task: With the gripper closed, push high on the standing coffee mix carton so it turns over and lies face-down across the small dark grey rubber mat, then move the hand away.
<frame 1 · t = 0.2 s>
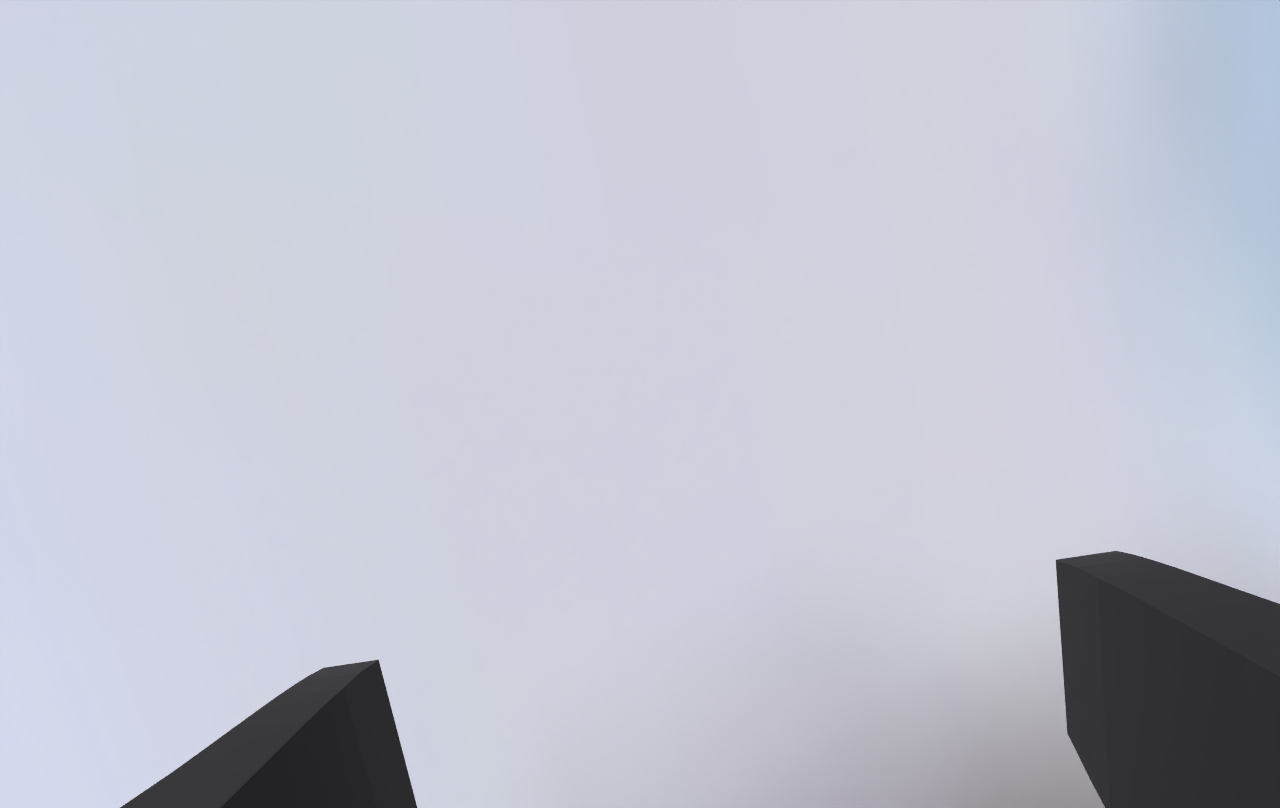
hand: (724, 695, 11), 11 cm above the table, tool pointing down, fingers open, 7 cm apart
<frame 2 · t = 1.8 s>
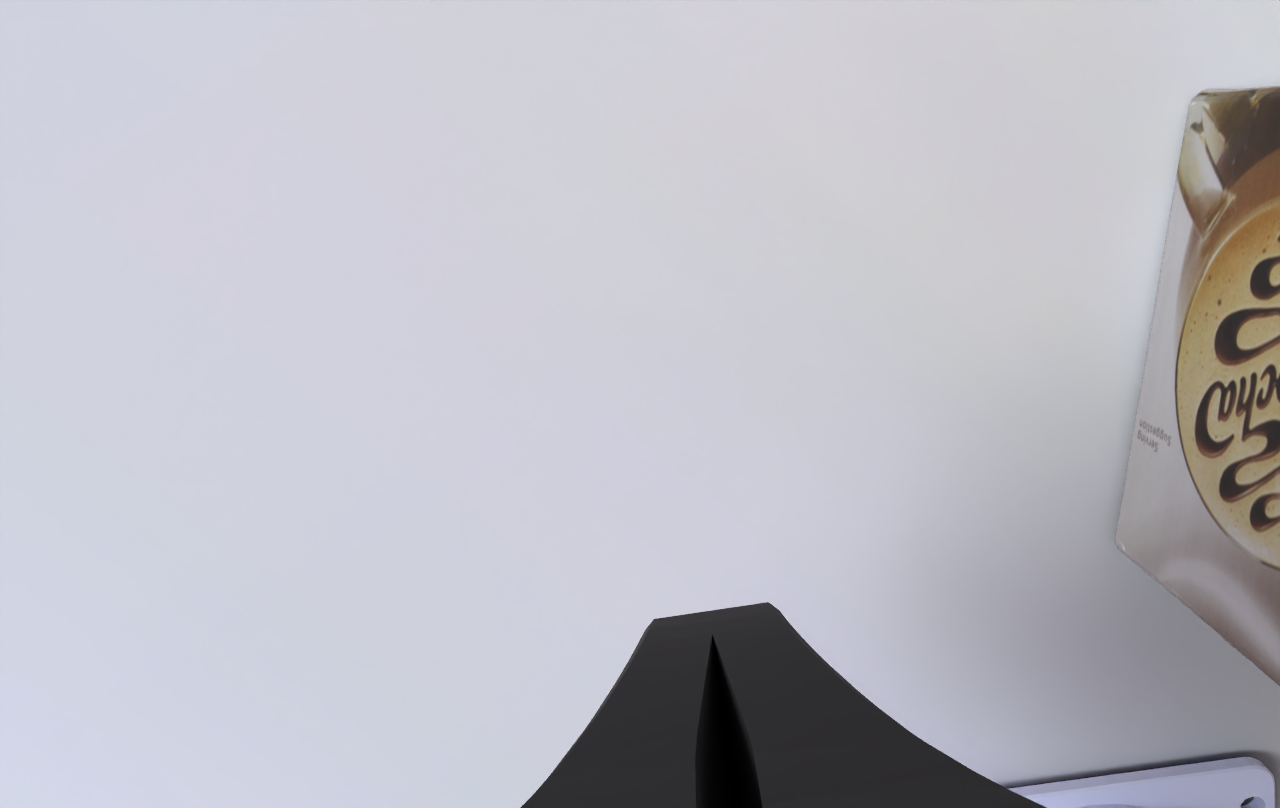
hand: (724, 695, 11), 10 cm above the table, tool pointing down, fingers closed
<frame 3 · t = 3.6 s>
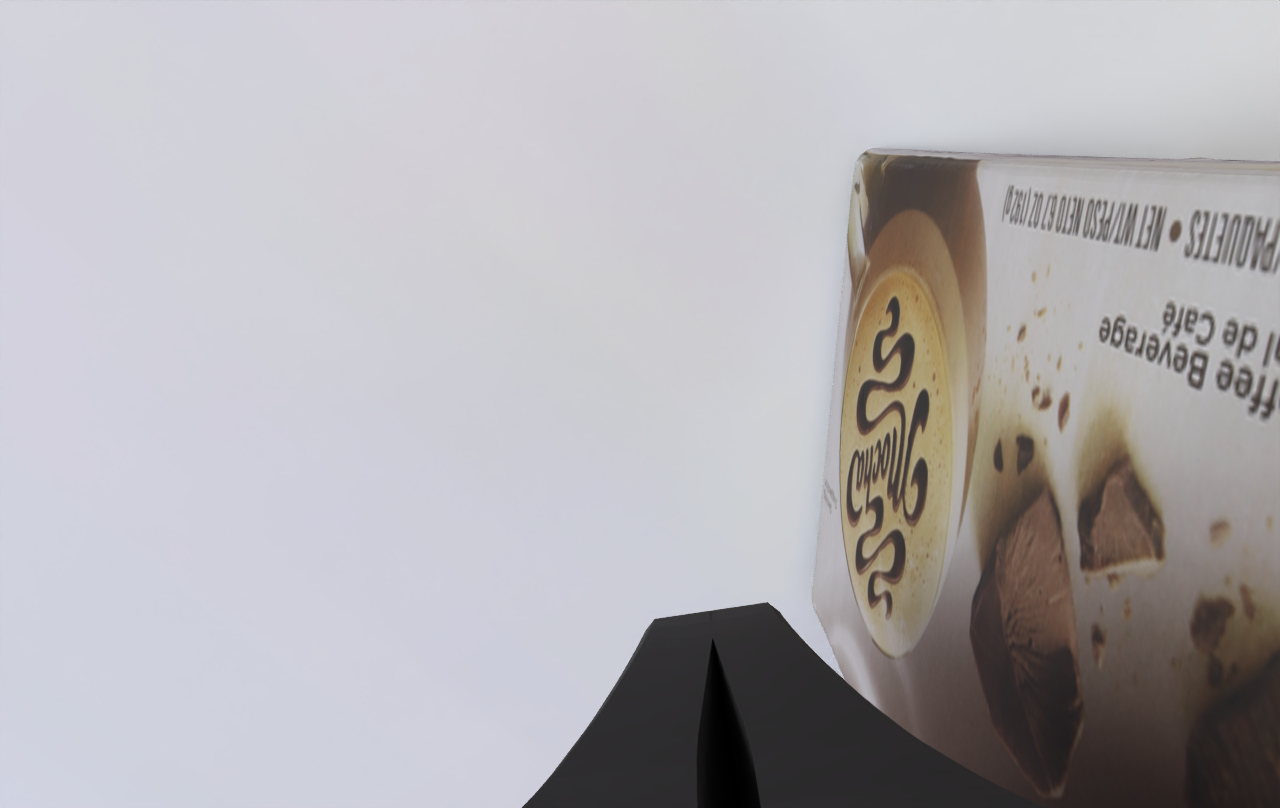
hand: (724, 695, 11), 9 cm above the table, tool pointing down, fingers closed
coffee box: (986, 389, 19), on the table, touching gripper
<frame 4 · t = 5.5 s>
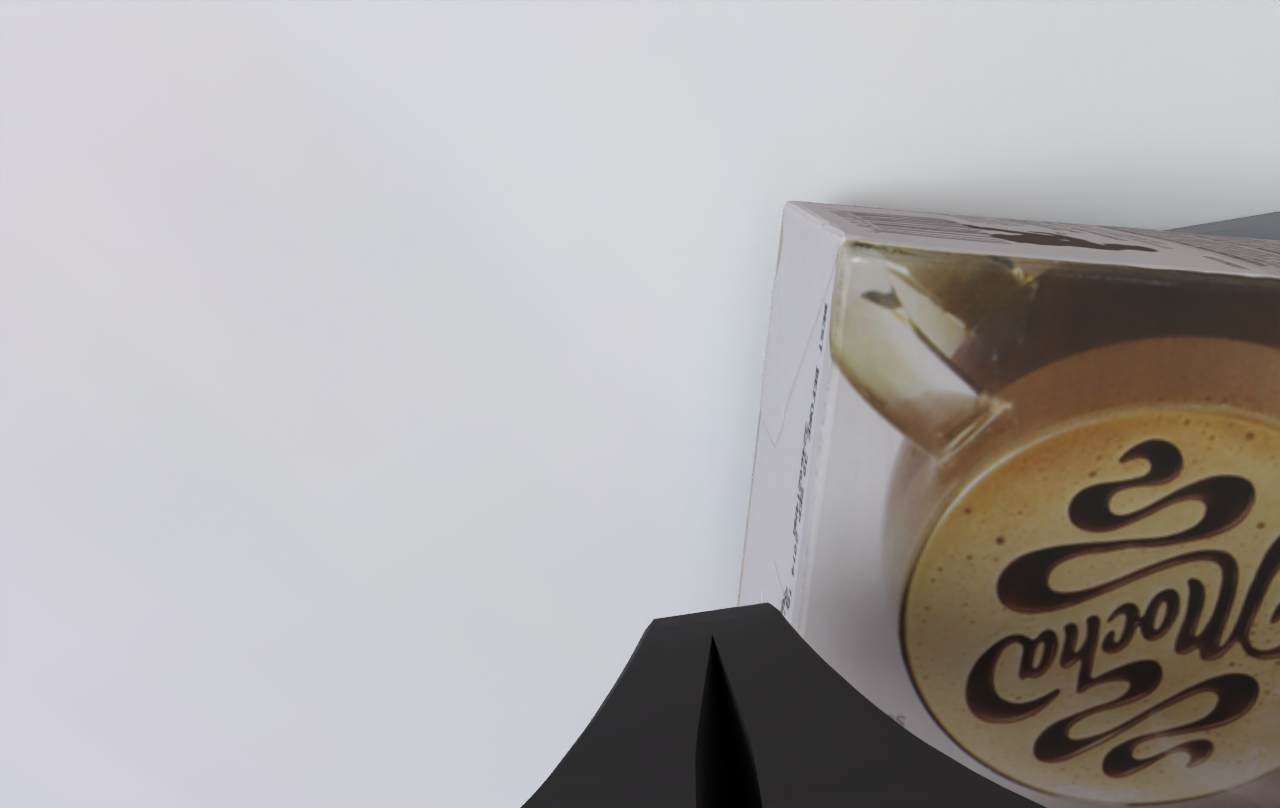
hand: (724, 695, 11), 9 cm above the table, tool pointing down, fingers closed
mat: (1240, 449, 20), on the table
coffee box: (756, 495, 16), point 4 cm above the table, touching mat
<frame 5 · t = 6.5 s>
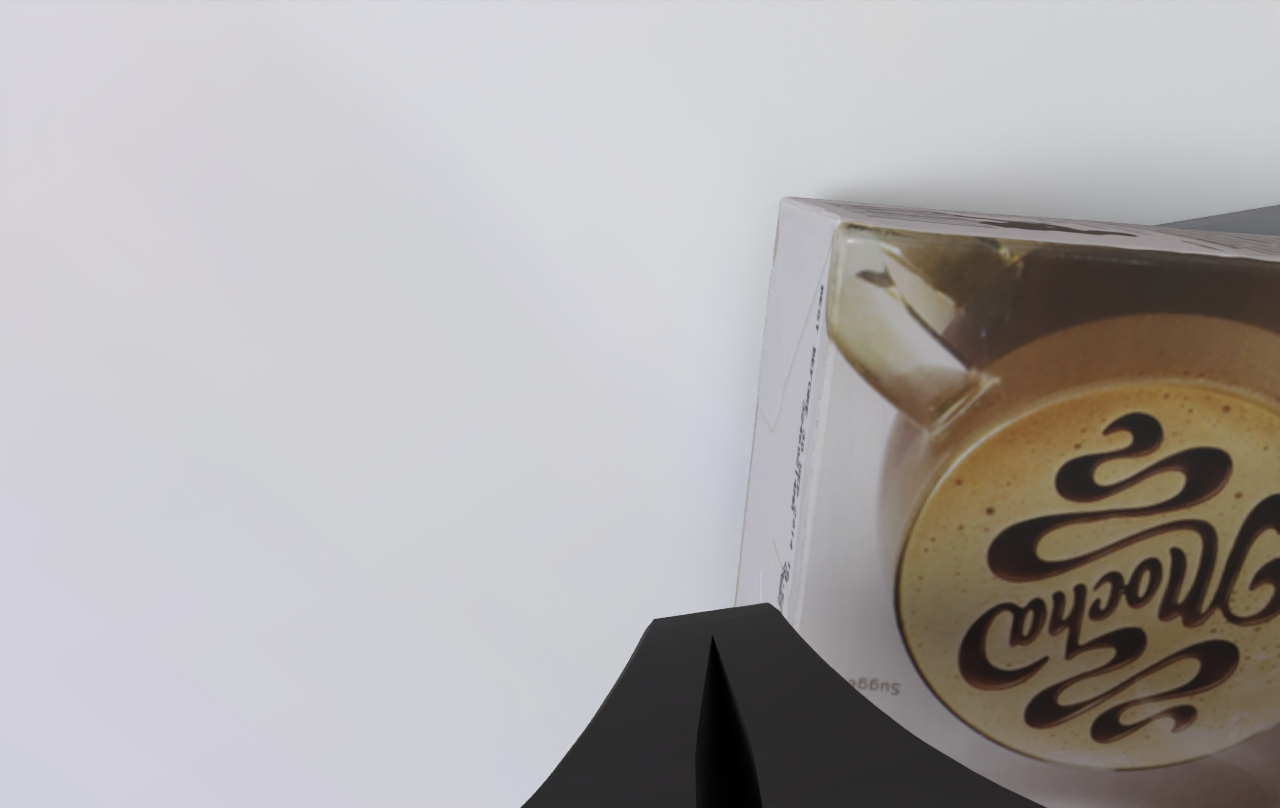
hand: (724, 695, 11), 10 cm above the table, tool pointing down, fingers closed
mat: (1224, 439, 20), on the table
coffee box: (755, 478, 16), point 4 cm above the table, touching mat
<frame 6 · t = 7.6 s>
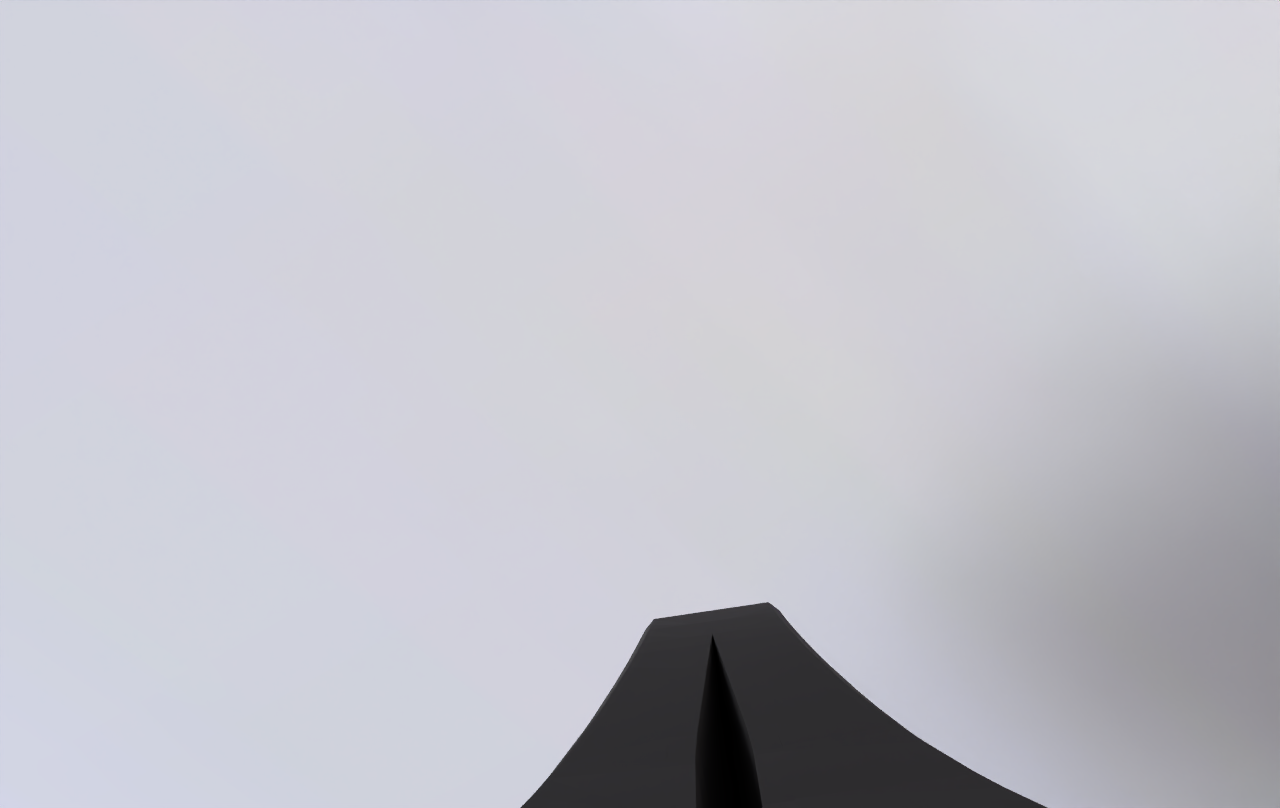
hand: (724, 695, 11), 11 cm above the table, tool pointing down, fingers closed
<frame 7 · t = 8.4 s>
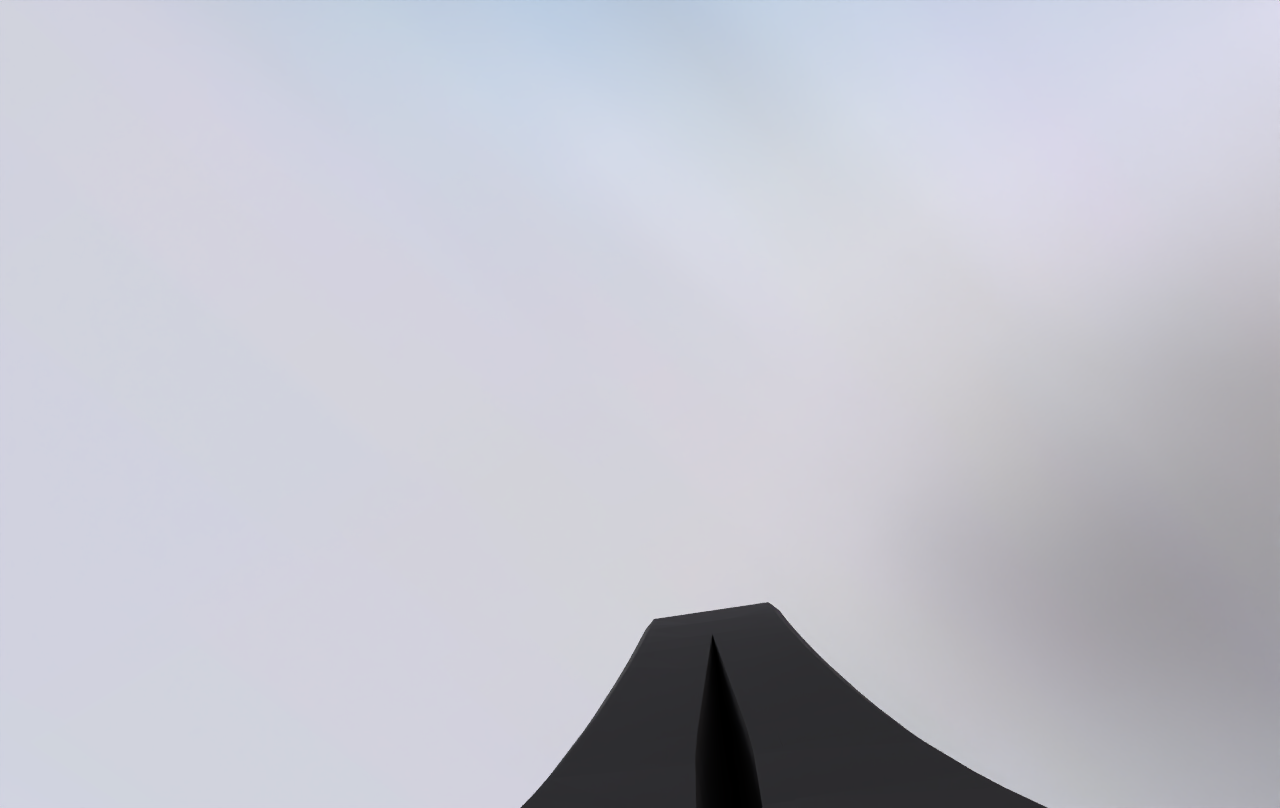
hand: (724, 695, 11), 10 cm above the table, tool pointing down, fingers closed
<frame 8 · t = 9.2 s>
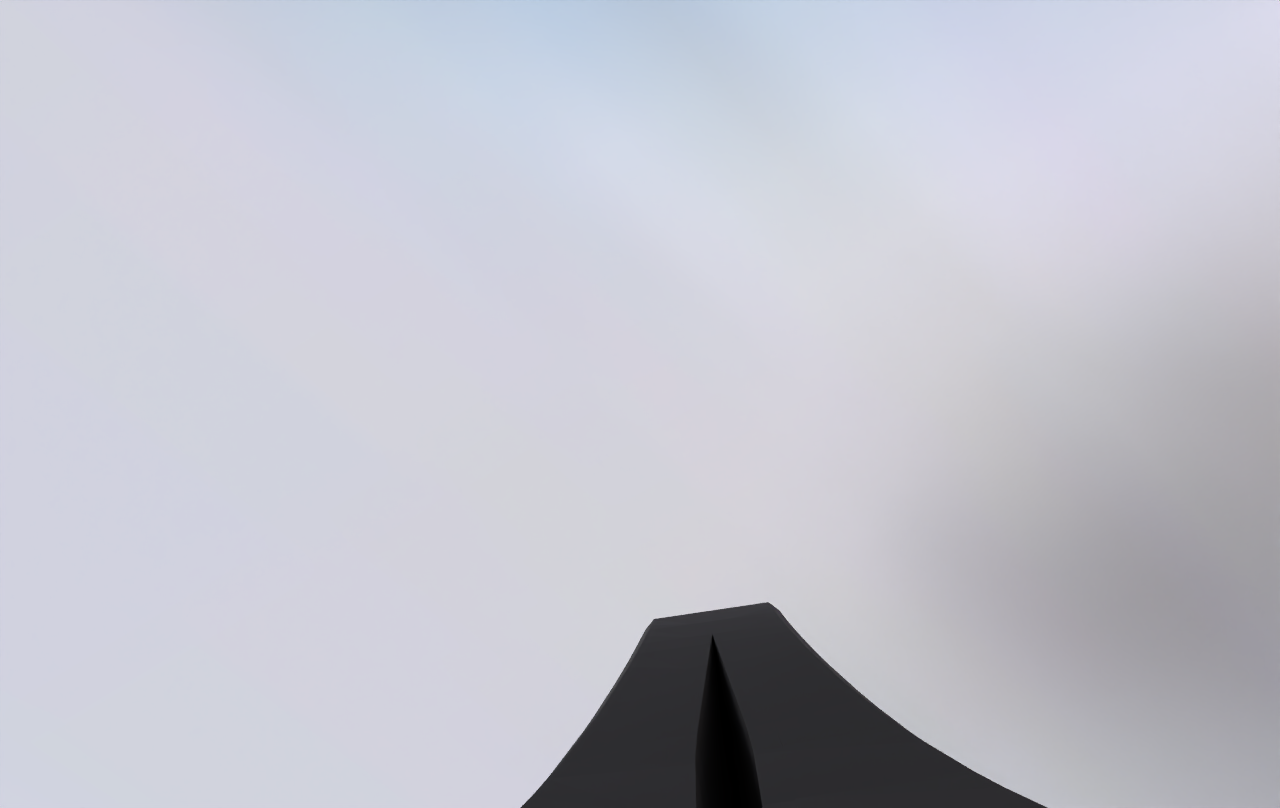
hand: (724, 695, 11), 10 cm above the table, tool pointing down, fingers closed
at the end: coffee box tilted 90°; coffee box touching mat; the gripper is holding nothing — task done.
